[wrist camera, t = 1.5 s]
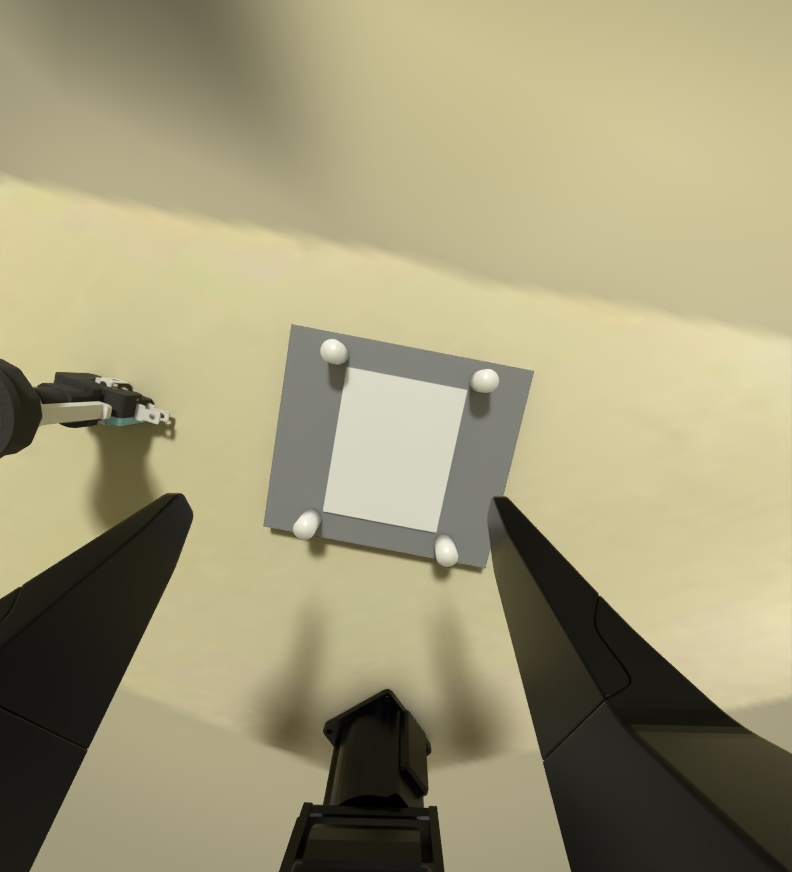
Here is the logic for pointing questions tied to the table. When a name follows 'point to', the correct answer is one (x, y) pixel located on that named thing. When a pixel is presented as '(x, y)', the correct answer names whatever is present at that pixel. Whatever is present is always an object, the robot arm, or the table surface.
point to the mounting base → (392, 445)
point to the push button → (65, 405)
